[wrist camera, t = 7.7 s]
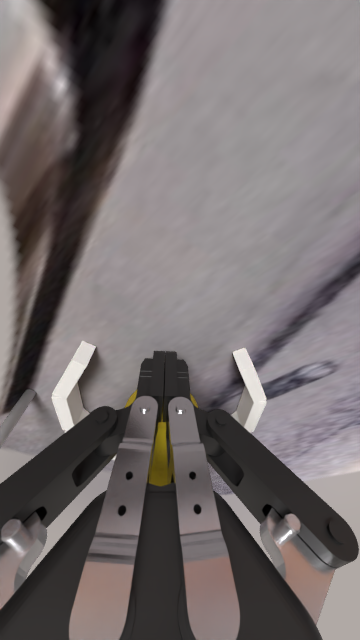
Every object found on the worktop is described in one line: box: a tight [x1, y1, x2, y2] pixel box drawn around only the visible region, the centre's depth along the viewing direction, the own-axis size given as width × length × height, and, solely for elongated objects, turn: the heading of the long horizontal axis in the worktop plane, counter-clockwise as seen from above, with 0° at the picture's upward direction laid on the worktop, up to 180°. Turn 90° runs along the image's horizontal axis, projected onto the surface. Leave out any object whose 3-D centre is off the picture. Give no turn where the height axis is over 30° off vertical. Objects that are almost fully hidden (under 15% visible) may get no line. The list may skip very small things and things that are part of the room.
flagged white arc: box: [0, 341, 267, 460], centre depth 12 cm, size 19×14×16 cm
